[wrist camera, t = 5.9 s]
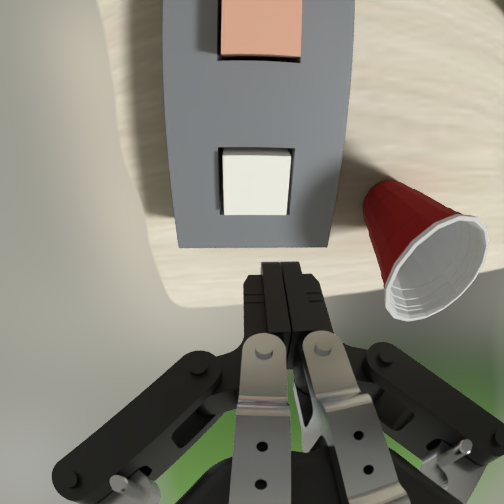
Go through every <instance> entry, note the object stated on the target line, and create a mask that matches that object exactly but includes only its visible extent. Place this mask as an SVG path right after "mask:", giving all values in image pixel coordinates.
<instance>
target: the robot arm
mask: <svg viewBox="0 0 504 504" xmlns="http://www.w3.org/2000/svg"><path fill="white" fill-rule="evenodd" d="M243 288H244V339H243V341H242V343H241V345H240V346H239V347H238V348H237V349H235V350H234V351H232V352H230V353H227V354H224V355H221V356H217V357H216V356H214V355H213V354H211V353H209V352H206V351H193V352H190V353H188V354H186V355H184V356H183V357H182V358H181V359H180V360H179V361H177V362H176V363H175V364H174V365H173V366H172V367H171V368H170V369H168V370H167V371H166V372H165V373H164V374H163V375H162V376H160V377H159V378H158V379H157V380H156V381H155V382H154V383H152V384H151V385H150V386H149V387H148V388H147V389H145V390H144V391H143V392H142V393H141V394H140V395H139V396H138V397H136V398H135V399H134V400H133V401H131V402H130V403H129V404H128V405H127V406H126V407H124V408H123V409H122V410H121V411H120V412H118V413H117V414H116V415H115V416H114V417H113V418H111V419H110V420H109V421H108V422H107V423H105V424H104V425H103V426H102V427H101V428H99V429H98V430H97V431H96V432H95V433H93V434H92V435H91V436H90V437H89V438H87V439H86V440H85V441H84V442H82V443H81V444H80V445H79V446H77V447H76V448H75V449H74V450H73V451H71V452H70V453H69V454H68V455H66V456H65V457H64V458H63V459H61V460H60V461H59V462H58V463H57V464H56V465H55V467H54V468H53V471H52V481H53V484H54V487H55V489H56V490H57V491H58V493H59V494H60V495H61V496H63V497H64V498H66V499H68V500H71V501H74V502H77V503H79V504H158V503H159V501H160V497H161V493H160V489H159V486H158V485H157V483H156V482H155V480H156V479H157V478H158V477H159V476H161V475H162V474H163V473H164V472H165V471H166V470H167V469H168V468H169V467H170V466H171V465H173V464H174V463H175V462H176V461H177V460H178V459H179V458H180V457H181V456H182V455H183V454H184V453H185V452H186V451H187V450H188V449H189V448H190V447H191V446H192V445H193V444H194V443H195V442H196V441H197V440H198V439H199V438H200V437H201V436H202V435H203V434H204V433H205V432H206V431H207V430H208V429H209V428H210V427H211V426H212V425H213V424H214V423H215V422H216V421H217V420H218V419H219V417H221V416H222V415H223V413H224V412H226V411H229V410H233V409H236V408H237V410H236V421H235V434H234V446H233V457H230V458H227V459H225V460H223V461H220V462H218V463H217V464H215V465H214V466H212V467H211V468H210V469H209V470H207V471H206V472H205V473H204V474H203V475H202V476H201V477H200V478H199V479H198V480H197V482H196V483H195V484H194V485H193V486H192V487H191V488H190V489H189V490H188V491H187V492H186V493H185V494H184V495H183V496H182V497H181V498H180V499H179V500H178V501H177V502H176V503H175V504H466V503H467V501H468V499H469V498H470V496H471V494H472V492H473V491H474V489H475V487H476V485H477V483H478V481H479V480H480V478H481V476H482V474H483V471H484V470H485V468H486V465H487V464H488V463H490V462H492V461H494V460H495V459H497V458H499V457H500V456H502V455H504V423H502V422H501V421H500V420H498V419H497V418H495V417H494V416H493V415H491V414H490V413H488V412H487V411H486V410H484V409H483V408H481V407H480V406H479V405H477V404H476V403H474V402H473V401H472V400H470V399H469V398H467V397H466V396H465V395H463V394H462V393H460V392H459V391H458V390H456V389H455V388H453V387H452V386H451V385H449V384H448V383H446V382H445V381H444V380H442V379H441V378H439V377H438V376H437V375H435V374H434V373H432V372H431V371H429V370H428V369H427V368H425V367H424V366H423V365H421V364H420V363H418V362H417V361H415V360H414V359H413V358H411V357H410V356H408V355H407V354H406V353H404V352H403V351H401V350H400V349H398V348H397V347H396V346H394V345H392V344H390V343H385V342H380V343H375V344H373V345H372V346H371V347H370V348H369V349H368V350H366V349H361V348H356V347H351V346H348V345H345V344H344V343H342V341H341V340H340V338H338V337H337V336H336V335H335V334H334V332H333V329H332V326H331V322H330V319H329V315H328V312H327V308H326V304H325V302H324V297H323V294H322V291H321V287H320V284H319V282H318V281H317V279H316V278H315V277H314V276H313V275H312V274H302V272H301V268H300V264H299V262H261V275H248V277H247V279H246V280H245V282H244V284H243ZM287 369H293V372H294V381H293V391H294V396H295V400H296V405H297V409H298V414H299V419H300V424H301V429H302V448H303V452H296V451H291V424H290V407H289V404H288V401H287ZM383 432H384V433H386V434H387V435H388V436H390V437H391V438H392V439H394V440H395V441H396V442H398V443H399V444H401V445H402V446H403V447H405V448H406V449H407V450H409V451H410V452H411V453H413V454H414V455H415V456H417V457H418V458H420V459H421V460H422V464H421V468H420V471H419V470H418V469H417V468H415V467H414V466H413V465H412V464H410V463H409V462H408V461H407V460H405V459H404V458H403V457H402V456H400V455H399V454H398V453H396V452H395V451H393V450H392V449H390V448H388V445H387V442H386V439H385V436H384V433H383Z"/></svg>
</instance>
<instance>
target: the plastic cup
mask: <svg viewBox="0 0 504 504" xmlns="http://www.w3.org/2000/svg"><path fill="white" fill-rule="evenodd" d="M363 213H364V220H365V222H366V225H367V228H368V231H369V237H370V239H371V242H372V245H373V248H374V251H375V254H376V257H377V260H378V264H379V267H380V270H381V276H382V279H383V282H384V288H385V307H386V309H387V310H388V311H389V312H390V314H391V315H392V316H393V317H394V318H396V319H400V320H404V321H412V320H418V319H424V318H426V317H429V316H431V315H433V314H435V313H437V312H439V311H441V310H443V309H444V308H446V307H447V306H448V305H450V304H451V303H452V302H454V301H455V300H456V299H457V298H459V297H460V296H461V295H462V294H463V292H464V291H465V290H466V289H467V288H468V287H469V286H470V284H471V283H472V282H473V280H475V278H476V276H477V274H478V272H479V271H480V269H481V267H482V265H483V263H484V261H485V257H486V253H487V249H488V245H489V240H488V233H487V227H486V226H485V225H484V224H483V223H482V222H481V221H480V220H479V219H478V218H477V217H475V216H471V215H463V214H461V213H459V212H456V211H454V210H452V209H451V208H447V207H445V206H444V205H442V204H440V203H439V202H437V201H435V200H433V199H432V198H430V197H428V196H426V195H425V194H423V193H421V192H419V191H417V190H416V189H412V188H410V187H408V186H407V185H405V184H403V183H401V182H397V181H390V180H388V181H384V182H381V183H378V184H377V185H376V186H374V187H373V188H372V189H371V190H370V191H369V193H368V194H367V196H366V197H365V200H364V204H363Z"/></svg>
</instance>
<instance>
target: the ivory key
mask: <svg viewBox="0 0 504 504" xmlns="http://www.w3.org/2000/svg"><path fill="white" fill-rule="evenodd" d="M290 165H291V155H290V153H289V151H288V149H287V148H273V147H224V151H223V192H224V215H286V213H287V202H288V190H289V178H290Z"/></svg>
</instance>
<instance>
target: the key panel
mask: <svg viewBox="0 0 504 504" xmlns="http://www.w3.org/2000/svg"><path fill="white" fill-rule="evenodd" d="M354 11H355V0H302V34H301V57H294V58H289V62H277V61H246V60H233V61H221V20H222V0H163V25H162V47H163V86H164V107H165V124H166V138H167V150H168V161H169V172H170V182H171V191H172V200H173V208H174V216H175V224H176V232H177V239H178V246H179V248H277V247H327V246H328V241H329V235H330V230H331V225H332V219H333V213H334V208H335V202H336V196H337V189H338V183H339V176H340V170H341V163H342V156H343V148H344V140H345V132H346V124H347V115H348V105H349V95H350V84H351V71H352V57H353V39H354ZM222 147H273V148H287V149H288V151H289V153H290V155H291V165H290V178H289V190H288V202H287V213H286V215H224V192H223V181H222Z"/></svg>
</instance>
